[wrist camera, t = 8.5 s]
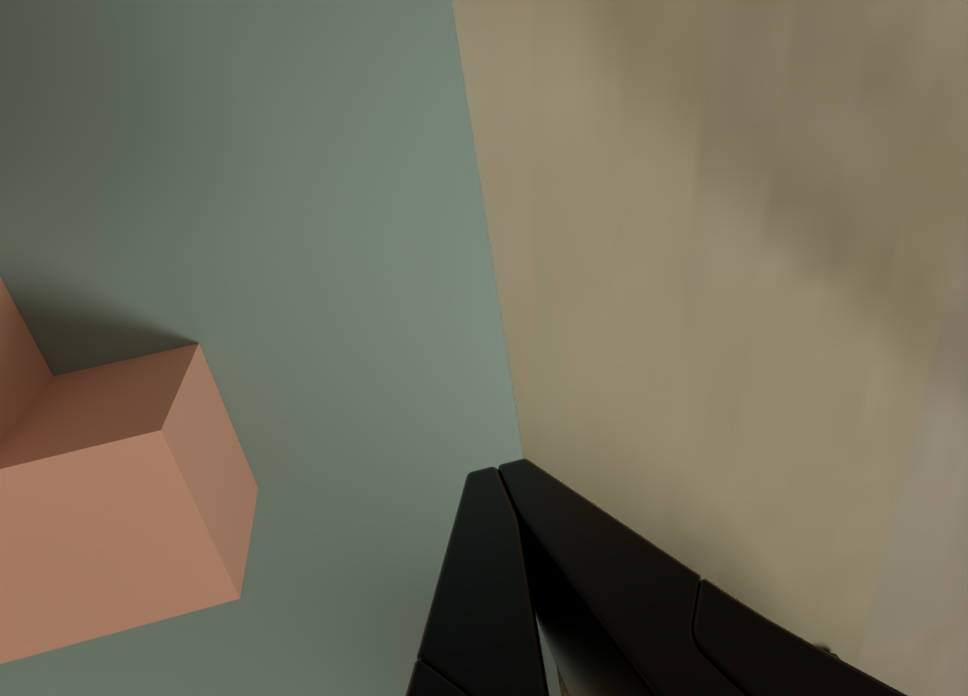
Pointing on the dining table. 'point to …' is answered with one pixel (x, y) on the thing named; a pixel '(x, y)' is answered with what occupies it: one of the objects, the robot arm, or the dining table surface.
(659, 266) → the dining table surface
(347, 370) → the board
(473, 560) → the robot arm
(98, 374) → the salmon notched block
